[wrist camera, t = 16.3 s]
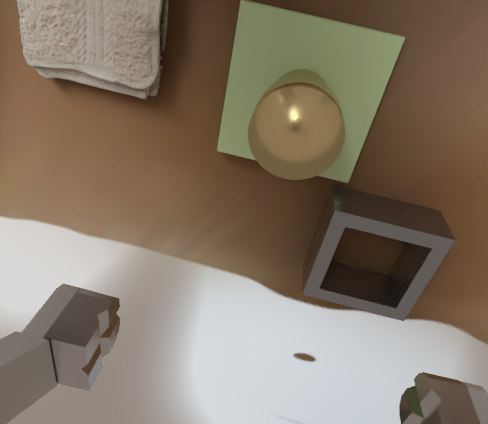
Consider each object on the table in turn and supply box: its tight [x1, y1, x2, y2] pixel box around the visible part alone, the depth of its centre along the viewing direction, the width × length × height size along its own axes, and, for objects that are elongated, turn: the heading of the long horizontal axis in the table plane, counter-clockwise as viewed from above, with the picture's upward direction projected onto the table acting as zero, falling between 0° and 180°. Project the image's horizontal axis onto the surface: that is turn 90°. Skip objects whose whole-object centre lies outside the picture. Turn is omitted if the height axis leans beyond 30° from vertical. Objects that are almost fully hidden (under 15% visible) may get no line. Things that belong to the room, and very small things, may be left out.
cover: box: [248, 69, 345, 180], centre depth 27 cm, size 6×6×8 cm
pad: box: [217, 0, 405, 183], centre depth 30 cm, size 12×12×1 cm
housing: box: [302, 185, 455, 321], centre depth 35 cm, size 10×10×4 cm
